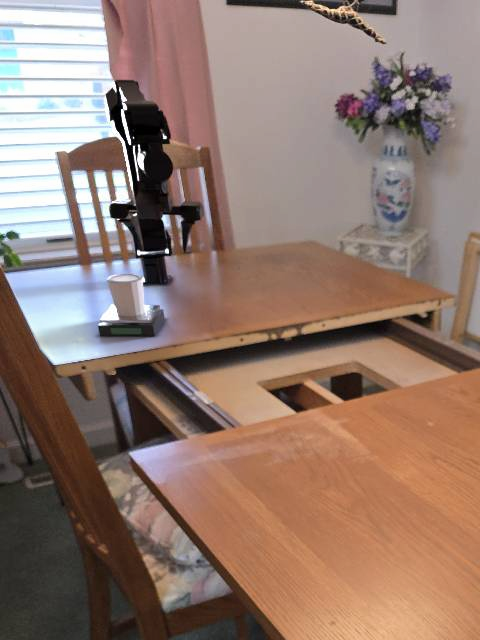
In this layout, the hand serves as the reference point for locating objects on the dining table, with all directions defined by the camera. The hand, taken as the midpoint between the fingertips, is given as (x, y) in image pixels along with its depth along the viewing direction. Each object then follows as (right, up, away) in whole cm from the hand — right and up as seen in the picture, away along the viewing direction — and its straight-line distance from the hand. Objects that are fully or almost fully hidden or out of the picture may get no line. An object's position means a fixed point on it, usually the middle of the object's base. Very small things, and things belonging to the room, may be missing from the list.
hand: (163, 252), depth 156 cm
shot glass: (-4, -16, -8) cm, 18 cm away
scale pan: (-4, -16, -8) cm, 19 cm away
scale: (-4, -19, -6) cm, 20 cm away
